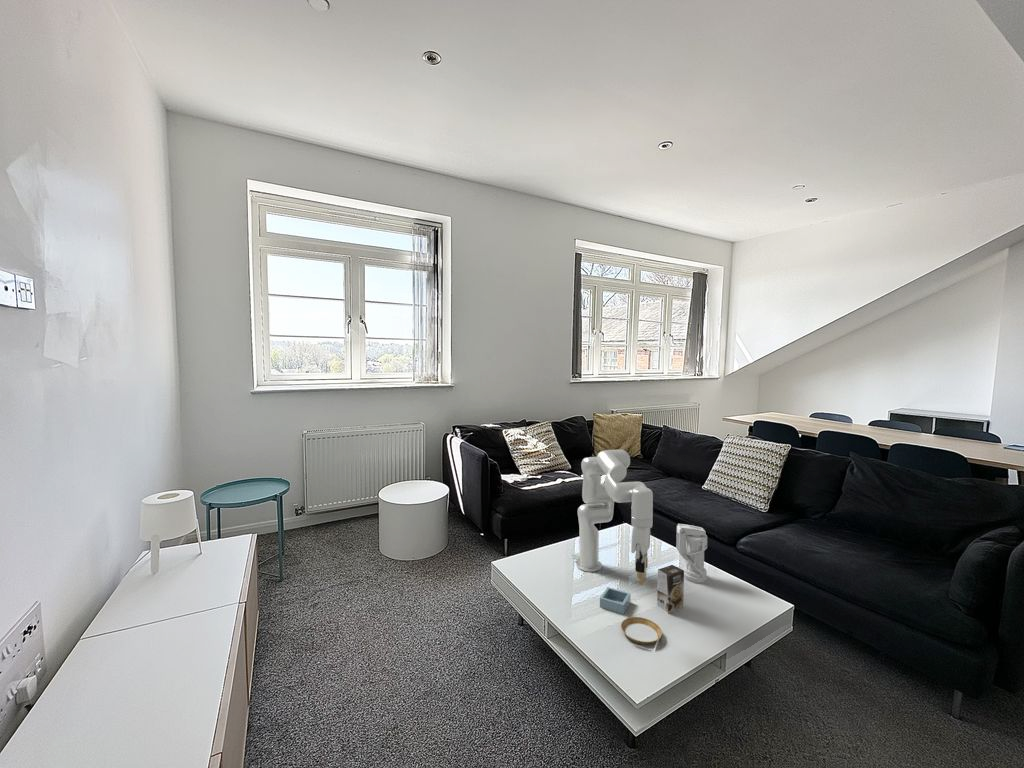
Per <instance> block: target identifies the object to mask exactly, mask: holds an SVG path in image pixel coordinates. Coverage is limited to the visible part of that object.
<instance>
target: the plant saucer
mask: <svg viewBox="0 0 1024 768" xmlns="http://www.w3.org/2000/svg"><path fill="white" fill-rule="evenodd" d="M634 624H640V625H645V626H648V627H649V628H651V629H653V630H654V632H656V634H657V635H656V636H657V639H655V640H650V641H643V640H638V639H635V638H633V637H631V636H630V635H628V634H627V633H626V628H627V627H628V626H629V625H634ZM620 628H621V631H622V633H623V634H624V635H625V636H626V637H627V638H628V639H629V640H631V641H632V642H634V643H637V644H640V645H642V644H643V645H651V644H654V643H656V642H658V641H659V640H660V639H661V638H662V635H663V631H662V629H661V627H660V626H659V625H658V624H657V623H656V622H654V621H652V620H651V619H648V618H646V617H645V618H644V617H641V616H640V617H639V616H631V617H627V618H625V619H623V620H622V622H621V624H620Z"/></svg>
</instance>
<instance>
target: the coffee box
mask: <svg viewBox="0 0 1024 768" xmlns="http://www.w3.org/2000/svg"><path fill="white" fill-rule="evenodd" d="M656 585H657V586H656V590H657V593H656V594H657V596H656V597H657V599H656V606H657V607H659V608H661V609H662V610H664V611H665V612H666V613H667V614H671V613H674V612H677V611H679V610H681V609H684V600H685V599H684V595H685V592H684V591H685V578H684V570H683V569H682V568H680V567H679V566H676V565H674V564H671V565H667V566H664V567H661V568H658V569H657V584H656Z"/></svg>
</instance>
